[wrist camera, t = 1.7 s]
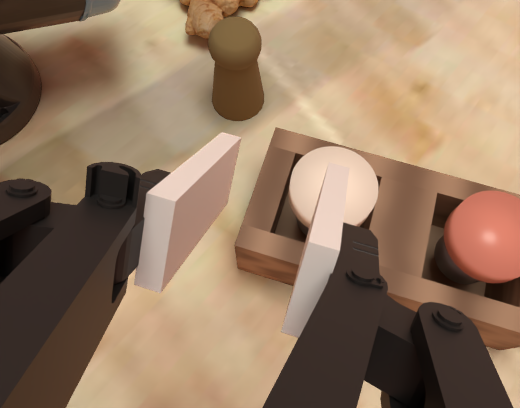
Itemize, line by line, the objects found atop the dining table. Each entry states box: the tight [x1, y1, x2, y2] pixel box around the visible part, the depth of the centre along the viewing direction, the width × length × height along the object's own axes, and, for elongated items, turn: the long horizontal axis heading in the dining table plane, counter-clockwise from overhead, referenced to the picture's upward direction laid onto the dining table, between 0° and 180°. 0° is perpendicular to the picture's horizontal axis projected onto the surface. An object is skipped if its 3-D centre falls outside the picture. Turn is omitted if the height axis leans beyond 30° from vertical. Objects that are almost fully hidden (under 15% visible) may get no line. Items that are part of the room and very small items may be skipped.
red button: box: [434, 191, 520, 284], centre depth 39 cm, size 7×7×7 cm
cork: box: [208, 17, 264, 121], centre depth 49 cm, size 6×6×11 cm
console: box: [235, 128, 520, 350], centre depth 44 cm, size 26×12×8 cm, turn 73°
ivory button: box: [289, 146, 378, 236], centre depth 41 cm, size 7×7×7 cm
